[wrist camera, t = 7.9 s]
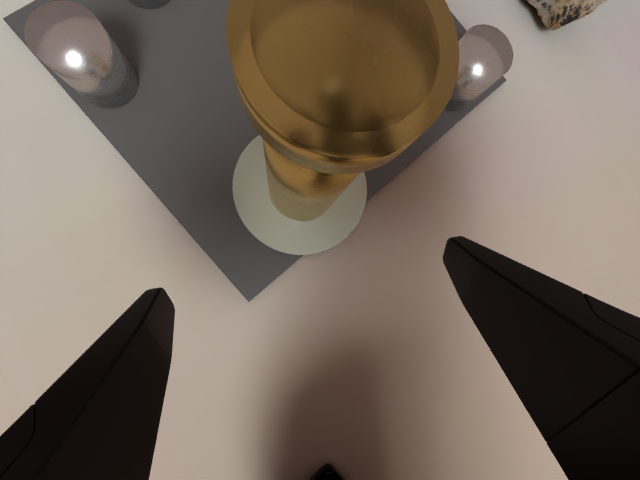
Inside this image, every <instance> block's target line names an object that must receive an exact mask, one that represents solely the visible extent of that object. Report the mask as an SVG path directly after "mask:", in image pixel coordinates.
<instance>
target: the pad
mask: <svg viewBox="0 0 640 480" xmlns="http://www.w3.org/2000/svg"><path fill="white" fill-rule="evenodd" d="M232 190H233V198H234V203H235V207H236V209H237V212H238V214H239V216H240V218H241V220H242V222H243V223H244V225H245V226H246V227H247V229H248V230H249V231H250V232H251V233H252V234H253V235H254V236H255V237H256V238H257V239H258V240H259V241H261V242H262V243H263V244H265V245H267V246H268V247H270V248H272V249H274V250H277V251H279V252H283V253H287V254H293V255H310V254H316V253H319V252H323V251H325V250H328V249H330V248H332V247H334V246H336V245H338V244H339V243H340V242H342V241H343V240H344V239H346V238H347V237H348V236H349V235H350V234H351V233H352V231H353V230H354V229H355V227H356V226H357V224H358V223H359V221H360V219H361V217H362V214H363V212H364V208H365V205H366V198H367V183H366V177H365V173H364V172H361V173H360V174H359V175H358V176H357V177H356V178H355V179H354V180H353V182H352V183H351V184H350V185H349V186H348V187H347V188H346V189H345V191H344V192H343V193H342V194H341V195H340V196H339V197H338V198H337V199H336V201H335V202H334V203H333V204H332V205H331V206H330V207H329V208H328V210H327V211H326V212H325V213H324V214H322V215H321V216H319V217H318V218H316V219H313V220H309V221H296V220H292V219H289V218H287V217H285V216H284V215H282V214H281V213H280V212H279V211H278V210H277V209H276V208H275V206H274V205H273V203H272V201H271V199H270V195H269V188H268V180H267V172H266V163H265V155H264V147H263V138H262V137H261V136H260V135H258V136H257V137H256V138H255V139H253V140H252V141H251V142H250V143H249V144H248V146H247V147H246V148H245V149H244V151H243V152H242V154H241V155H240V158H239V160H238V162H237V164H236V167H235V170H234V176H233V187H232Z"/></svg>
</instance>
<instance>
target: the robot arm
mask: <svg viewBox="0 0 640 480" xmlns="http://www.w3.org/2000/svg"><path fill="white" fill-rule="evenodd" d="M443 262H444V265H445V267H446V269H447V271H448V274H449V276H450V278H451V280H452V282H453V284H454V287H455V289H456V291H457V293H458V295H459V297H460V299H461V301H462V303H463V305H464V307H465V308H466V310H467V312H468V313H469V315H470V317H471V318H472V320H473V322H474V323H475V325H476V327H477V328H478V330H479V332H480V333H481V335H482V337H483V338H484V340H485V342H486V343H487V345H488V347H489V348H490V350H491V351H492V353H493V355H494V356H495V358H496V360H497V361H498V363H499V365H500V366H501V368H502V370H503V371H504V373H505V375H506V376H507V378H508V380H509V381H510V383H511V385H512V386H513V388H514V390H515V391H516V393H517V395H518V396H519V398H520V400H521V401H522V403H523V405H524V406H525V408H526V410H527V411H528V413H529V414H530V416H531V418H532V419H533V421H534V423H535V424H536V426H537V428H538V429H539V431H540V433H541V434H542V436H543V438H544V439H545V441H546V442H547V445H548V446H549V448H550V450H551V451H552V453H553V455H554V456H555V458H556V460H557V461H558V463H559V465H560V466H561V468H562V470H563V471H564V473H565V475H566V476H567V478H568V480H640V318H639V317H636V316H634V315H632V314H629V313H627V312H625V311H622V310H620V309H618V308H616V307H613V306H611V305H609V304H607V303H605V302H602V301H600V300H598V299H596V298H594V297H592V296H589V295H587V294H583V293H582V292H581V291H579V290H576V289H574V288H572V287H570V286H568V285H566V284H564V283H561V282H559V281H557V280H555V279H553V278H551V277H549V276H546V275H544V274H542V273H540V272H538V271H536V270H534V269H531V268H529V267H527V266H525V265H523V264H521V263H519V262H516V261H514V260H512V259H510V258H508V257H506V256H504V255H501V254H499V253H497V252H495V251H493V250H491V249H489V248H486V247H484V246H482V245H480V244H478V243H476V242H474V241H471V240H469V239H467V238H465V237H463V236H457V237H452V238H449V239H448V240H447V243H446V247H445V251H444V254H443ZM174 317H175V308H174V305H173V303H172V301H171V300H170V298H169V296H168V295H167V293H166V291H165V290H164V289H163V288H154V289H149V290H147V291H145V292H144V293H143V294H142V295H141V296H140V297H139V298H138V299H137V300H136V301H135V302H134V303H133V304H132V305H131V306H130V307H129V308H128V309H127V310H126V311H125V312H124V313H123V314H122V315H121V316H120V317H119V318H118V319H117V320H116V321H115V322H114V323H113V324H112V325H111V326H110V327H109V328H108V329H107V330H106V331H105V332H104V333H103V334H102V335H101V336H100V337H99V338H98V339H97V340H96V341H95V342H94V343H93V344H92V345H91V346H90V347H89V348H88V349H87V350H86V351H85V352H84V353H83V354H82V355H81V356H80V357H79V358H78V359H77V360H76V361H75V362H74V363H73V364H72V365H71V366H70V367H69V368H68V369H67V370H66V371H65V372H64V373H63V374H62V375H61V376H60V377H59V378H58V379H57V380H56V381H55V382H54V383H53V384H52V385H51V386H50V387H49V388H48V389H47V390H46V391H45V392H44V393H43V394H42V395H41V396H40V398H39V399H38V400H37V401H36V402H35V404H34V405H31V406H30V407H29V408H28V409H27V410H26V411H25V412H24V413H23V414H22V415H21V416H20V417H19V418H18V419H17V420H16V421H15V422H14V423H13V424H12V425H11V426H10V427H9V428H8V429H7V430H6V431H5V432H4V433H3V434H2V435H1V436H0V480H149V475H150V470H151V465H152V460H153V454H154V449H155V444H156V439H157V433H158V428H159V423H160V417H161V412H162V407H163V402H164V396H165V391H166V386H167V381H168V375H169V370H170V364H171V358H172V346H173V331H174ZM328 472H331V473H332V474H331V475H330V476H326V474H327V473H328ZM310 480H345V478H344V477H343V476H342V475H341V474H340V473H339V472H338V470H337V469H336V468H335V467H334V466H333V465H332V464H326V465H324V466H323V467H322V468H321V469H320V470H319V471H318V472H317V473H316V474H315V475H314V476H313V477H312V478H311V479H310Z"/></svg>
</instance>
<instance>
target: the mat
mask: <svg viewBox="0 0 640 480" xmlns="http://www.w3.org/2000/svg"><path fill="white" fill-rule="evenodd" d="M53 1H70V2H74V3H77V4H80V5H82V6H84V7H85V8H87V9H88V10H90V11H91V12H92V13H93V14H94V15H95V17H96V18H97V19H98V21H99V22H100V23H101V25H102V26H103V27H104V29H105V30H106V31H107V33H108V34H109V35H110V37H111V38H112V39H113V41H114V42H115V44H116V45H117V46H118V48H119V49H120V50H121V52H122V53H123V54H124V56H125V57H126V58H127V60H128V61H129V63H130V64H131V65H132V67H133V68H134V69H135V71H136V73H137V75H138V79H139V87H138V91H137V93H136V95H135V97H134V98H133V99H132V100H131V101H130V102H129V103H127V104H126V105H124V106H121V107H118V108H113V109H107V108H101V107H97V106H95V105H93V104H91V103H90V102H89V101H87V100H86V99H85V98H84V97H83V96H82V95H80V94H79V93H78V92H77V91H76V90H75V89H73V88H72V87H71V86H70V85H69V84H68V83H66V82H65V81H64V80H63V79H62V78H61V77H59V76H58V75H57V74H56V73H55V72H54V71H52V70H51V69H50V68H49V67H48V66H47V65H45V64H44V63H43V62H42V61H41V60H40V59H38V58H37V59H38V60H39V61H40V62H41V63H42V64H43V65H44V67H45V68H46V69H47V70H48V71H49V72H50V74H51V75H52V76H53V77H54V78H55V79H56V80H57V82H58V83H59V84H60V85H61V86H62V87H63V89H64V90H65V91H66V92H67V93H68V94H69V95H70V97H71V98H72V99H73V100H74V101H75V102H76V103H77V105H78V106H79V107H80V108H81V109H82V110H83V112H84V113H85V114H86V115H87V116H88V117H89V118H90V120H91V121H92V122H93V123H94V124H95V125H96V127H97V128H98V129H99V130H100V131H101V132H102V133H103V135H104V136H105V137H106V138H107V139H108V140H109V142H110V143H111V144H112V145H113V146H114V147H115V148H116V150H117V151H118V152H119V153H120V154H121V155H122V157H123V158H124V159H125V160H126V161H127V162H128V163H129V165H130V166H131V167H132V168H133V169H134V170H135V171H136V173H137V174H138V175H139V176H140V177H141V178H142V180H143V181H144V182H145V183H146V184H147V185H148V186H149V188H150V189H151V190H152V191H153V192H154V193H155V195H156V196H157V197H158V198H159V199H160V200H161V201H162V203H163V204H164V205H165V206H166V207H167V208H168V210H169V211H170V212H171V213H172V214H173V215H174V216H175V218H176V219H177V220H178V221H179V222H180V223H181V225H182V226H183V227H184V228H185V229H186V230H187V231H188V233H189V234H190V235H191V236H192V237H193V238H194V239H195V241H196V242H197V243H198V244H199V245H200V246H201V248H202V249H203V250H204V251H205V252H206V253H207V254H208V256H209V257H210V258H211V259H212V260H213V261H214V263H215V264H216V265H217V266H218V267H219V268H220V269H221V271H222V272H223V273H224V274H225V275H226V276H227V278H228V279H229V280H230V281H231V282H232V283H233V284H234V286H235V287H236V288H237V289H238V290H239V291H240V293H241V294H242V295H243V296H244V297H245V298H246V299H247V301H248V302H249V301H250V300H252V299H253V298H254V297H255V296H256V295H257V294H259V293H260V292H261V291H262V290H263V289H264V288H266V287H267V286H268V285H269V284H270V283H271V282H273V281H274V280H275V279H276V278H277V277H278V276H280V275H281V274H282V273H283V272H284V271H285V270H286V269H288V268H289V267H290V266H291V265H292V264H293V263H295V262H296V261H297V260H298V259H299V258H300V257H302V256H303V255H293V254H287V253H283V252H279V251H277V250H274V249H272V248H270V247H268V246H267V245H265V244H263V243H262V242H261V241H259V240H258V239H257V238H256V237H255V236H254V235H253V234H252V233H251V232H250V231H249V230H248V229H247V227H246V226H245V225H244V223H243V222H242V220H241V218H240V216H239V214H238V212H237V209H236V207H235V203H234V198H233V190H232V187H233V176H234V170H235V167H236V164H237V162H238V160H239V158H240V155H241V154H242V152H243V151H244V149H245V148H246V147H247V146H248V144H249V143H250V142H251V141H252V140H253V139H255V138H256V137H257V136H258V135H259V134H258V132H257V131H256V130H255V128H254V127H253V126H252V124H251V122H250V121H249V119H248V117H247V115H246V113H245V111H244V109H243V106H242V104H241V101H240V98H239V94H238V90H237V86H236V82H235V77H234V73H233V69H232V64H231V60H230V55H229V51H228V46H227V37H226V16H227V11H228V6H229V1H230V0H171V1H170V2H169V3H168V4H167V5H165V6H163V7H161V8H157V9H143V8H139V7H137V6H135V5H133V4H131V3H130V2H129V1H128V0H35V1H33V2H31V3H30V4H28V5H26V6H24V7H23V8H21V9H19V10H17V11H15V12H14V13H12V14H10V15H8V16H7V17H5V18H3V19H4V21H5V22H6V23H7V24H8V25H9V26H10V27H11V29H12V30H13V31H14V32H15V33H16V34H17V35H18V37H19V38H20V39H21V40H22V41H23V42H24V44H25V45H26V46H27V44H26V41H25V37H24V27H25V23H26V21H27V19H28V17H29V15H30V14H31V13H32V12H33V11H34V10H35V9H36V8H38V7H39V6H41V5H43V4H46V3H49V2H53ZM450 13H451V11H450ZM451 15H452V17H453V21H454V24H455V27H456V31H457V37H458V42H459V41H460V39H461V38H462V37H463V36H464V34H465V33H466V32H467V31H466V30H465V29H464V27H463V26H462V25H461V24H460V22H459V21H458V20H457V19H456V18H455V16H454V15H453V14H452V13H451ZM27 47H28V46H27ZM505 81H506V79H505V78H504V76H502V77H501V78H499V79H498V80H497V81H496V82H495V83H493V84H492V85H491V86H490V87H489V88H488V89H486V90H485V91H484V92H483V93H482V94H480V95H479V96H478V97H477V98H476V99H475V100H473V101H472V102H471V103H470V104H469V105H467V106H466V107H465V108H464V109H462V110H459V111H454V112H452V111H447V110H444V111H443V112H442V113H441V115H440V116H439V117H438V118H437V120H436V121H435V122H434V123H433V124H432V125H431V126H430V127H429V128H428V129H427V130H426V131H425V132H424V133H423V134H422V135H420V136H419V137H418V138H417V139H416V140H415V141H414V142H413V143H412V144H411V145H409V146H408V147H407V148H406V149H405V150H404V151H403V152H402V153H401V154H399V155H398V156H397V157H395V158H394V159H393V160H391V161H389V162H388V163H386V164H384V165H382V166H380V167H377V168H375V169H372V170H369V171H365V172H364V173H365V177H366V183H367V198H366V201H367V200H368V199H369V198H370V197H371V196H372V195H374V194H375V193H376V192H377V191H378V190H379V189H381V188H382V187H383V186H384V185H385V184H386V183H388V182H389V181H390V180H391V179H392V178H393V177H395V176H396V175H397V174H398V173H399V172H400V171H402V170H403V169H404V168H405V167H406V166H407V165H408V164H410V163H411V162H412V161H413V160H414V159H415V158H417V157H418V156H419V155H420V154H421V153H422V152H424V151H425V150H426V149H427V148H428V147H429V146H431V145H432V144H433V143H434V142H435V141H436V140H438V139H439V138H440V137H441V136H442V135H443V134H445V133H446V132H447V131H448V130H449V129H450V128H451V127H453V126H454V125H455V124H456V123H457V122H458V121H460V120H461V119H462V118H463V117H464V116H465V115H467V114H468V113H469V112H470V111H471V110H472V109H474V108H475V107H476V106H477V105H478V104H479V103H481V102H482V101H483V100H484V99H485V98H486V97H488V96H489V95H490V94H491V93H492V92H493V91H494V90H496V89H497V88H498V87H499V86H500V85H501V84H503V83H504V82H505Z"/></svg>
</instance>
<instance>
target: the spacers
mask: <svg viewBox="0 0 640 480" xmlns="http://www.w3.org/2000/svg"><path fill="white" fill-rule="evenodd" d="M128 1H129V2H130V3H131V4H133V5H135V6H137V7H139V8H143V9H157V8H161V7H163V6H165V5H167V4H168V3H169V2H170V1H171V0H128ZM24 37H25V41H26V44H27V46H28V48H29V49H30V51H31V52H32V53H33V54H34V55H35V56H36V57H37V58H38V59H40V60H41V61H42V62H43V63H44V64H45V65H47V66H48V67H49V68H50V69H51V70H52V71H54V72H55V73H56V74H57V75H58V76H59V77H61V78H62V79H63V80H64V81H65V82H66V83H68V84H69V85H70V86H71V87H72V88H73V89H75V90H76V91H77V92H78V93H79V94H80V95H82V96H83V97H84V98H85V99H86V100H87V101H89V102H90V103H91V104H93V105H95V106H97V107H101V108H107V109H113V108H118V107H121V106H124V105H126V104H127V103H129V102H130V101H131V100H132V99H133V98H134V97H135V95H136V93H137V91H138V87H139V79H138V75H137V73H136V71H135V69H134V68H133V67H132V65H131V64H130V63H129V61H128V60H127V58H126V57H125V56H124V54H123V53H122V52H121V50H120V49H119V48H118V46H117V45H116V44H115V42H114V41H113V39H112V38H111V37H110V35H109V34H108V33H107V31H106V30H105V29H104V27H103V26H102V25H101V23H100V22H99V21H98V19H97V18H96V17H95V15H94V14H93V13H92V12H91V11H90V10H88V9H87V8H85V7H84V6H82V5H80V4H77V3H74V2H70V1H53V2H49V3H46V4H43V5H41V6H39V7H38V8H36V9H35V10H34V11H33V12H32V13H31V14H30V15H29V17H28V19H27V21H26V23H25V27H24ZM458 43H459V69H458V75H457V80H456V84H455V87H454V90H453V93H452V95H451V98H450V100H449V102H448V104H447V105H446V107H445V109H444V110H447V111H452V112H454V111H459V110H462V109H464V108H465V107H466V106H467V105H469V104H470V103H471V102H472V101H473V100H475V99H476V98H477V97H478V96H479V95H480V94H482V93H483V92H484V91H485V90H486V89H488V88H489V87H490V86H491V85H492V84H493V83H495V82H496V81H497V80H498V79H499V78H501V77H502V76H503V75H504V74H505V73H506V72H507V71H508V70H509V69H510V67H511V65H512V61H513V50H512V46H511V44H510V42H509V40H508V38H507V37H506V36H505V35H504V34H503V33H502V32H501V31H500V30H499V29H497V28H495V27H493V26H490V25H484V24H483V25H476V26H474V27H472V28H470V29H469V30H468V31H467V32H466V33H465V34H464V36H463V37H462V38H461V39H460V41H459V42H458Z"/></svg>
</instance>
